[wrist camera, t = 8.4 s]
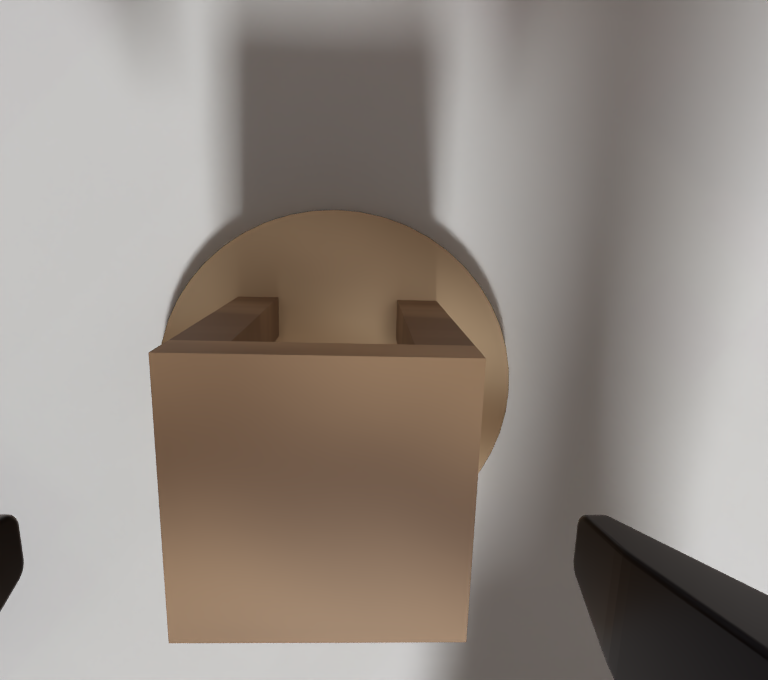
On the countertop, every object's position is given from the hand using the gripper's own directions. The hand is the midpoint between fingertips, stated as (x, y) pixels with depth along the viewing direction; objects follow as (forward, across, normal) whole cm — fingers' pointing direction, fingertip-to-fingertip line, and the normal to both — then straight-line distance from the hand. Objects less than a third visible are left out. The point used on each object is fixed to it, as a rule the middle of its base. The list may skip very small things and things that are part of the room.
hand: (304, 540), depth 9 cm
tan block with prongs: (+9, 0, 0) cm, 9 cm away
